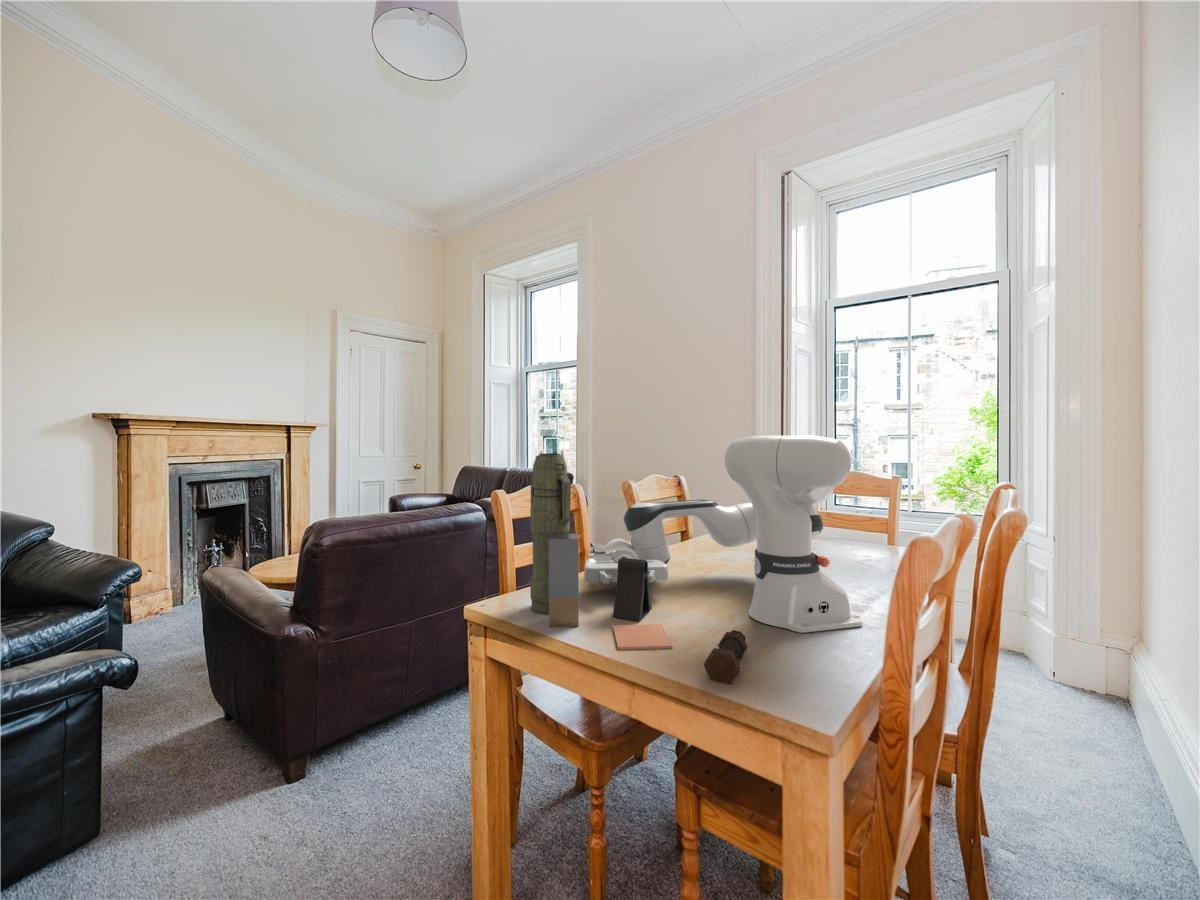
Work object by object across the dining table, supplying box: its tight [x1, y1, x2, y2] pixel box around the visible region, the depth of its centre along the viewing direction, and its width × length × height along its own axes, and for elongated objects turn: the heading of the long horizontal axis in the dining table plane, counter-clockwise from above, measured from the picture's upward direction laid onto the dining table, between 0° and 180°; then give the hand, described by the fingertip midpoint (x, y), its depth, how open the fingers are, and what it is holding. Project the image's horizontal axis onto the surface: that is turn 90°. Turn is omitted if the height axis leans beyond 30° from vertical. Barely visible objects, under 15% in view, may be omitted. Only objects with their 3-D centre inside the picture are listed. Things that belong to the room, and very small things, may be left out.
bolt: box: [703, 629, 748, 685], centre depth 89 cm, size 6×5×15 cm
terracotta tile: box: [612, 623, 673, 651], centre depth 101 cm, size 10×11×1 cm
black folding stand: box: [612, 558, 653, 623], centre depth 114 cm, size 9×6×12 cm, turn 157°
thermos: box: [529, 453, 572, 616], centre depth 117 cm, size 9×12×35 cm
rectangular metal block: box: [548, 533, 581, 628], centre depth 109 cm, size 6×6×18 cm
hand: (629, 580), depth 119 cm, fingers open, 8 cm apart
